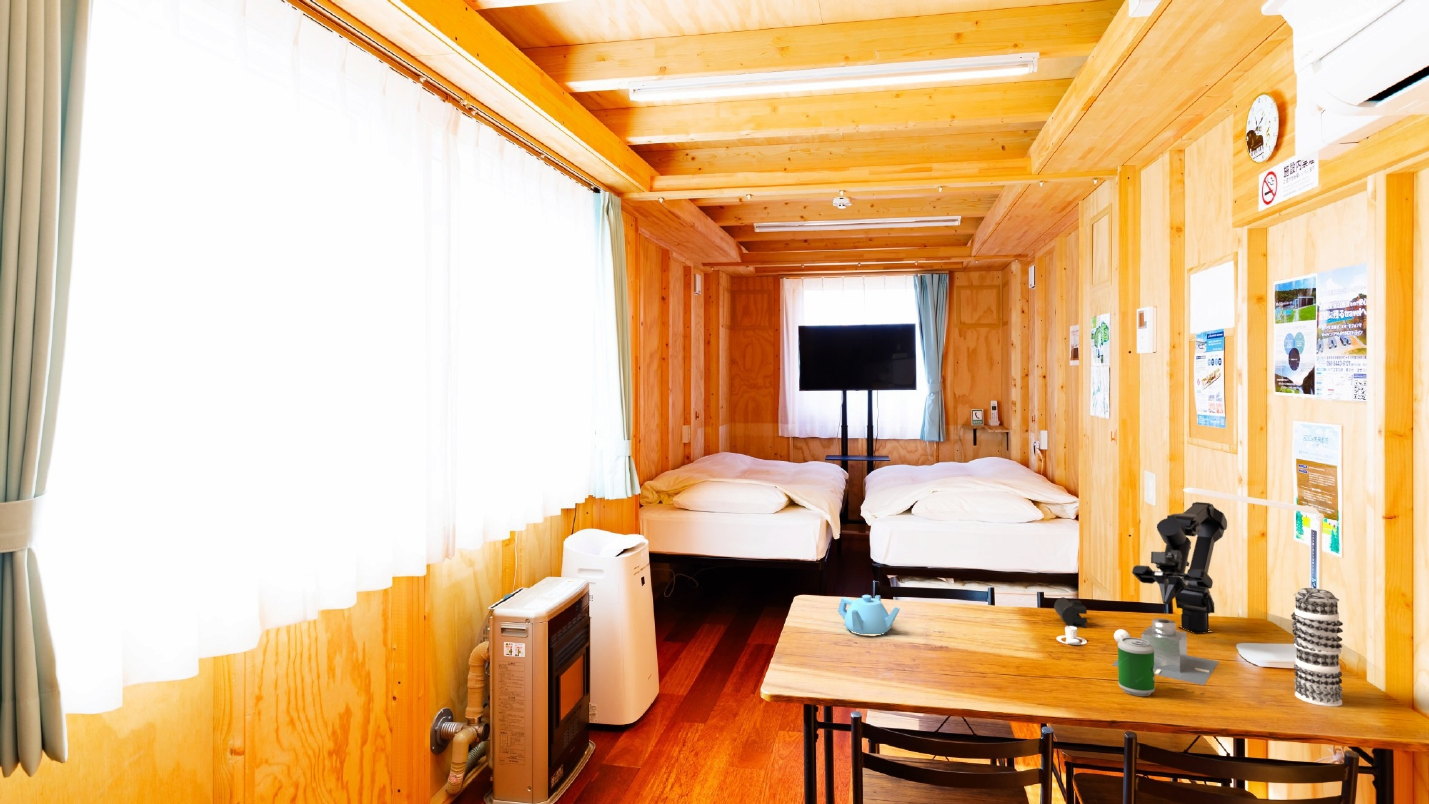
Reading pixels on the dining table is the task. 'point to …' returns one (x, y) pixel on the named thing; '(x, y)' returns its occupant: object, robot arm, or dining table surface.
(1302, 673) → the decorative candle
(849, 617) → the teapot
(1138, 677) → the soda can
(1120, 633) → the turntable plate
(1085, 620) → the end cap
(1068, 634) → the teacup and saucer
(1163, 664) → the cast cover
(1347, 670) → the dining table surface
